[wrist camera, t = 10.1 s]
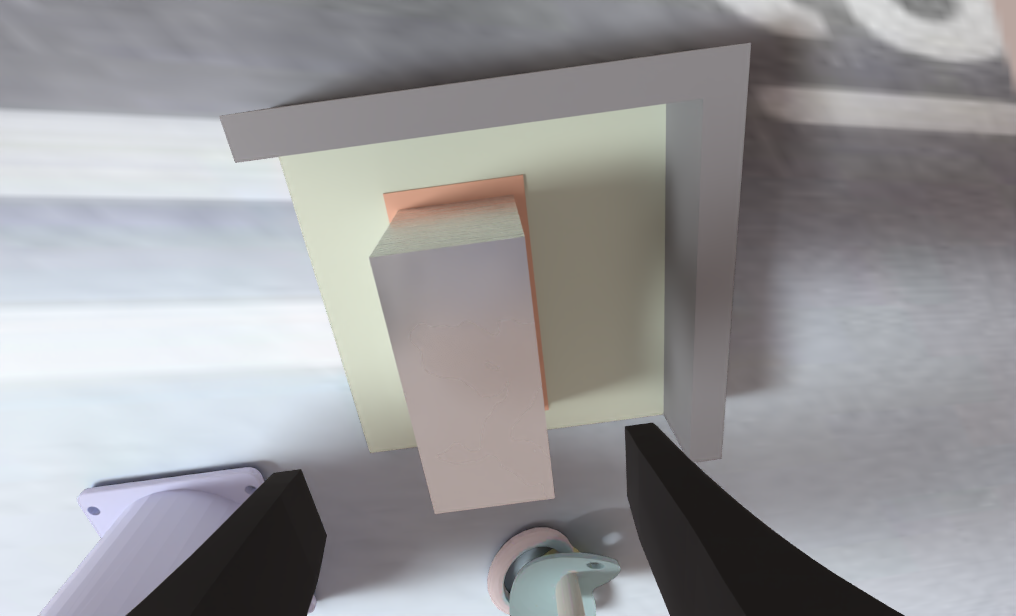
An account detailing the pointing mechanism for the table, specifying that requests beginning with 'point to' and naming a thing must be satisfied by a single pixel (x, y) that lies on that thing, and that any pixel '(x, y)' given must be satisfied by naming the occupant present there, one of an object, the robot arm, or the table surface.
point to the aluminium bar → (467, 350)
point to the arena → (543, 223)
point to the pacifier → (548, 576)
